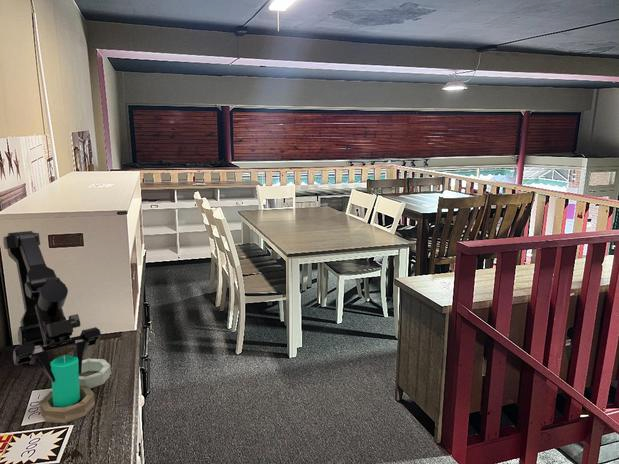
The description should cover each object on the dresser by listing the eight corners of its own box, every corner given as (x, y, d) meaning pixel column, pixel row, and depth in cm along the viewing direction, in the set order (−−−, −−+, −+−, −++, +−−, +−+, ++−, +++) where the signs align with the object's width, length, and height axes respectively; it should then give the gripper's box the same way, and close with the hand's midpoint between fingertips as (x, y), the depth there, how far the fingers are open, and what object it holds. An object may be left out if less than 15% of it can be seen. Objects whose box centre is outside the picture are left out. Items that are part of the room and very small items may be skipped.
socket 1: (32, 421, 105) (31, 410, 105) (58, 395, 116) (57, 384, 115) (79, 423, 105) (78, 412, 105) (100, 396, 116) (100, 386, 116)
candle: (68, 408, 107) (66, 362, 104) (46, 404, 108) (43, 358, 105) (85, 395, 113) (83, 351, 110) (64, 391, 114) (62, 347, 111)
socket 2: (56, 388, 119) (55, 378, 118) (77, 367, 130) (77, 358, 129) (98, 390, 119) (97, 380, 118) (115, 369, 130) (115, 359, 129)
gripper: (10, 314, 102) (25, 379, 96) (96, 297, 114) (114, 353, 109) (7, 334, 109) (20, 395, 104) (88, 316, 122) (104, 369, 116)
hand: (67, 377), depth 108 cm, fingers closed on candle, 5 cm apart
